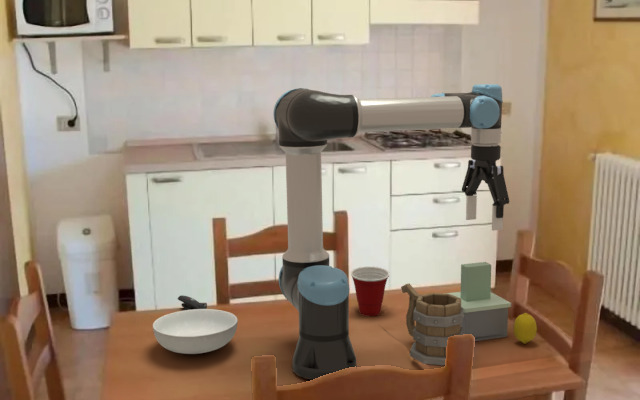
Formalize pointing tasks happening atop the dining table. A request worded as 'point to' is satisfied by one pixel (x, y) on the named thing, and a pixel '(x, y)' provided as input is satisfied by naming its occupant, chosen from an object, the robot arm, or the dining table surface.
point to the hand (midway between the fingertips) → (483, 224)
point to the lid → (478, 289)
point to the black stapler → (191, 303)
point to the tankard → (432, 324)
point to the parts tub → (486, 323)
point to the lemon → (525, 328)
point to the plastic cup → (369, 288)
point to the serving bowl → (195, 330)
